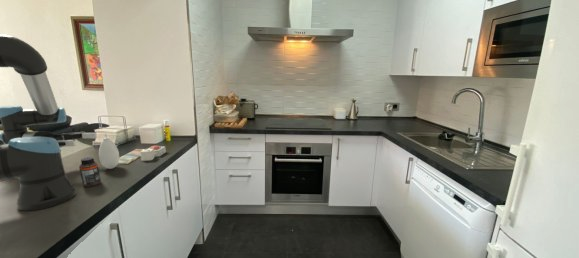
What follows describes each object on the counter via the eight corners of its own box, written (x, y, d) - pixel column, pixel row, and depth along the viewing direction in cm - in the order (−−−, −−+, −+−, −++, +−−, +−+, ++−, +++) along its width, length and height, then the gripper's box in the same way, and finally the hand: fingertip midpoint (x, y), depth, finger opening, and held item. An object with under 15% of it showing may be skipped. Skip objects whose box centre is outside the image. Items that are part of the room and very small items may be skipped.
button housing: (159, 156, 136) (158, 150, 136) (144, 156, 136) (143, 150, 135) (165, 152, 144) (165, 146, 144) (152, 152, 144) (151, 146, 143)
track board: (127, 164, 124) (126, 162, 124) (108, 164, 124) (108, 162, 124) (151, 150, 148) (151, 148, 148) (136, 150, 147) (135, 148, 147)
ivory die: (151, 160, 131) (150, 150, 129) (141, 160, 130) (140, 151, 128) (154, 157, 135) (153, 148, 134) (144, 157, 134) (143, 148, 133)
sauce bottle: (103, 166, 121) (97, 131, 117) (122, 164, 124) (116, 129, 121) (99, 172, 114) (92, 135, 110) (119, 169, 117) (113, 133, 114)
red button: (157, 153, 138) (156, 147, 137) (148, 153, 137) (148, 148, 137) (161, 150, 142) (160, 145, 142) (153, 150, 142) (152, 145, 142)
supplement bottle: (86, 182, 104) (81, 157, 101) (103, 180, 106) (98, 155, 103) (80, 188, 98) (75, 161, 96) (98, 186, 100) (93, 159, 98)
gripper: (63, 139, 129) (105, 139, 129) (13, 155, 104) (64, 155, 105) (60, 125, 127) (102, 125, 128) (8, 138, 103) (61, 138, 103)
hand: (85, 139), depth 116 cm, fingers open, 13 cm apart
